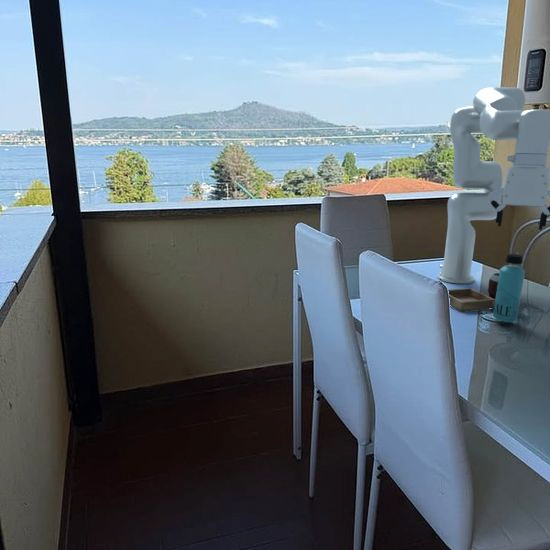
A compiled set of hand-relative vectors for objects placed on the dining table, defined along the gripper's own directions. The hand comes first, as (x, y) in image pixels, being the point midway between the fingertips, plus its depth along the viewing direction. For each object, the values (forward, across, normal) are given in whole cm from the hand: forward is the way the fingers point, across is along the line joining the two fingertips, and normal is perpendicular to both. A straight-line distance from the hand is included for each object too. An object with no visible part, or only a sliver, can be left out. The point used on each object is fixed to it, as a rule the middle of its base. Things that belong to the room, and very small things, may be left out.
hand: (519, 227), depth 122 cm
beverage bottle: (+28, 0, 0) cm, 28 cm away
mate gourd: (+28, -3, +22) cm, 36 cm away
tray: (+27, -12, +12) cm, 32 cm away
